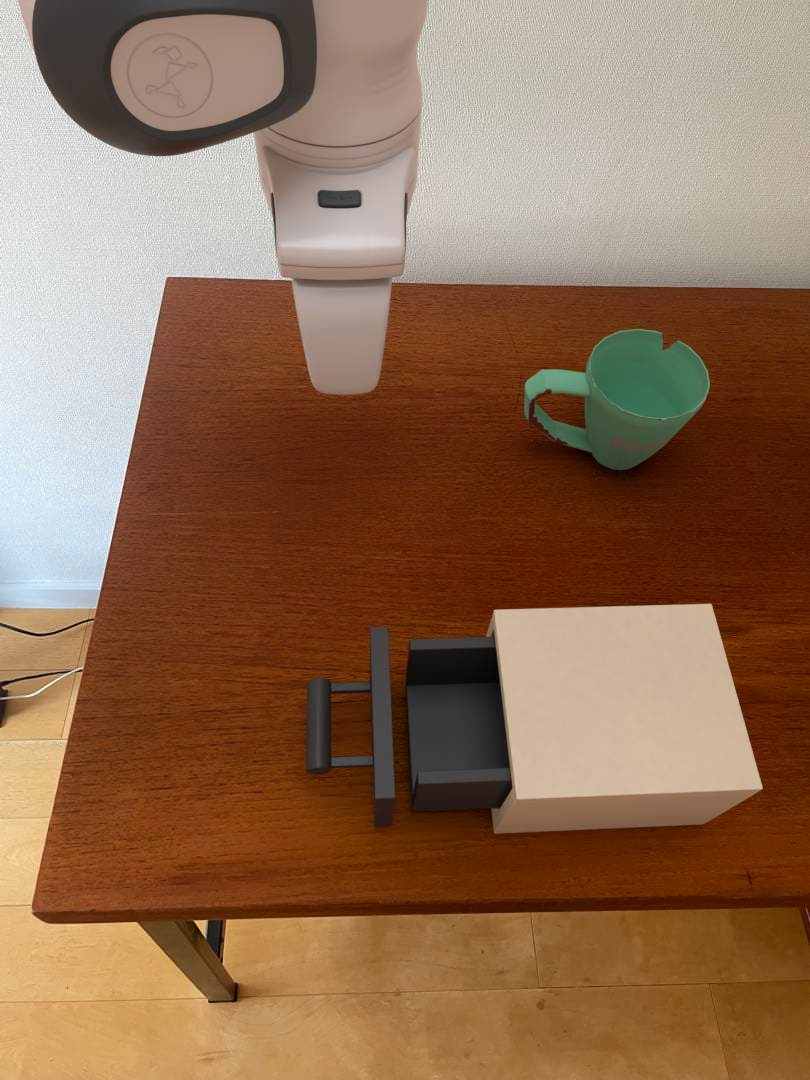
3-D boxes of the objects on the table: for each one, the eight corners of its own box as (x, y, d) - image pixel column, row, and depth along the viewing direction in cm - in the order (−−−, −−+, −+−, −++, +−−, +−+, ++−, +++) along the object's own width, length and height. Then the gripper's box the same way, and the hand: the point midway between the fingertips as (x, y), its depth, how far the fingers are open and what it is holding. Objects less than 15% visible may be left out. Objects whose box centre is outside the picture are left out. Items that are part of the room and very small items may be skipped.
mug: (657, 406, 76) (694, 328, 67) (680, 492, 70) (724, 418, 62) (504, 408, 75) (521, 328, 66) (516, 494, 70) (537, 420, 61)
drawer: (310, 829, 54) (301, 801, 47) (311, 674, 59) (304, 629, 53) (572, 818, 55) (601, 789, 48) (549, 666, 60) (572, 621, 54)
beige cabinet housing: (493, 833, 55) (516, 799, 46) (476, 666, 61) (493, 609, 53) (703, 824, 56) (763, 789, 47) (665, 660, 62) (712, 603, 54)
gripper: (282, 46, 49) (298, 238, 60) (275, 276, 38) (296, 453, 50) (386, 48, 49) (381, 237, 61) (407, 275, 38) (397, 451, 50)
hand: (343, 336), depth 55 cm, fingers closed on block, 4 cm apart
